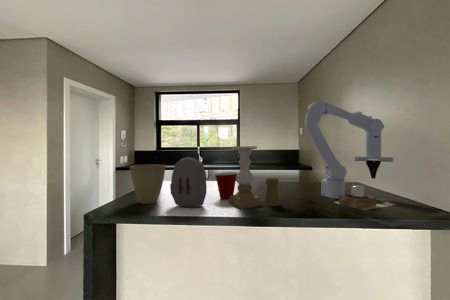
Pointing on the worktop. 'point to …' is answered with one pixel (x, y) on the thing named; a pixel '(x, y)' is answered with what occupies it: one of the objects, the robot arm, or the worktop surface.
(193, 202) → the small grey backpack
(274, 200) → the cork
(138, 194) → the plant pot
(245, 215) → the worktop surface
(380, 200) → the bar
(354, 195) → the steel peg
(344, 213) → the worktop surface
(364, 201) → the socket board
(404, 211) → the worktop surface
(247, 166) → the candle holder
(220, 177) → the plastic cup
